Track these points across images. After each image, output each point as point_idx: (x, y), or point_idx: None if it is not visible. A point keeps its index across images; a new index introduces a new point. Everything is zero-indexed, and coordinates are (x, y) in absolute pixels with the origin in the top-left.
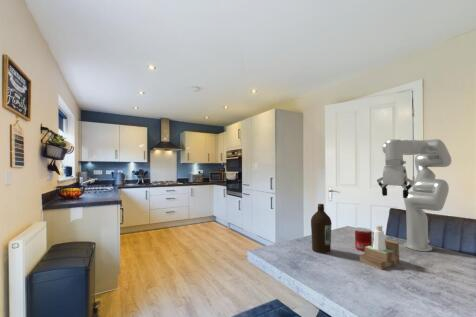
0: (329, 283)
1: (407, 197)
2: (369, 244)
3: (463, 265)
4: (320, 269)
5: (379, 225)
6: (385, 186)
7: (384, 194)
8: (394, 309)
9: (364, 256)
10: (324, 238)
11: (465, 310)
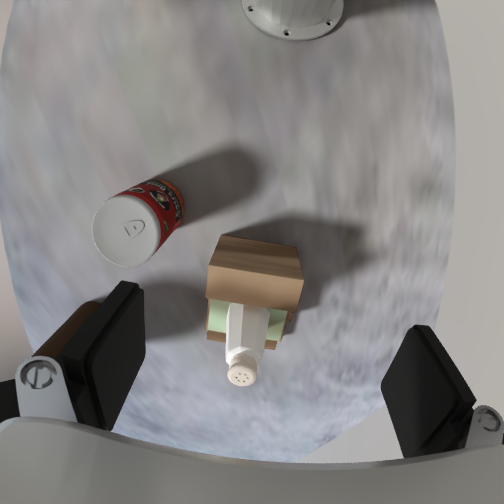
0: (232, 439)
1: (424, 328)
2: (176, 224)
3: (439, 105)
4: (186, 414)
5: (242, 375)
6: (60, 404)
7: (139, 357)
8: (331, 435)
9: (221, 339)
10: None
11: None
